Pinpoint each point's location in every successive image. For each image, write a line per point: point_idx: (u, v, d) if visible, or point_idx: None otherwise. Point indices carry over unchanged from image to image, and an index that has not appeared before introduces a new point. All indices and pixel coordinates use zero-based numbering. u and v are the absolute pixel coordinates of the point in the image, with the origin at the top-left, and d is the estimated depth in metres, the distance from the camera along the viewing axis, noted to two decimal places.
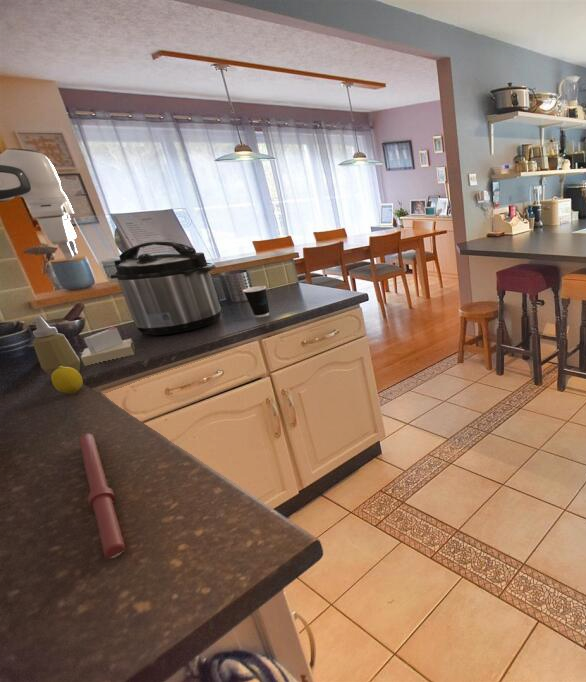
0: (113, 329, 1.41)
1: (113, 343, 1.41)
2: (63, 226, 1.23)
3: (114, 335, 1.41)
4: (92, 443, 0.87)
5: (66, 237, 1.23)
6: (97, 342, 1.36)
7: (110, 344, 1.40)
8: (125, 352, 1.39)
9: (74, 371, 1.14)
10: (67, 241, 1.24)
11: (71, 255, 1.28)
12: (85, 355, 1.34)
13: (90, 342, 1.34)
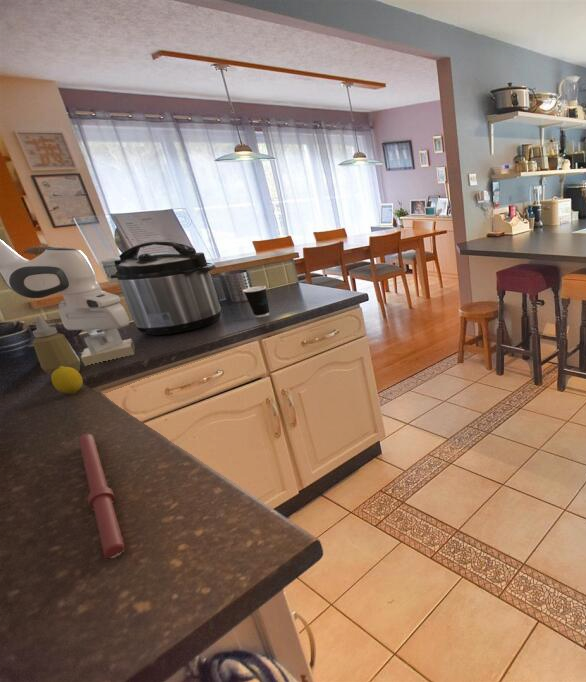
0: (113, 329, 1.41)
1: (113, 343, 1.41)
2: (125, 311, 1.36)
3: (114, 335, 1.41)
4: (92, 444, 0.87)
5: (128, 320, 1.37)
6: (97, 342, 1.36)
7: (110, 344, 1.40)
8: (125, 352, 1.39)
9: (74, 371, 1.14)
10: (128, 324, 1.37)
11: (111, 338, 1.39)
12: (85, 355, 1.34)
13: (90, 342, 1.34)
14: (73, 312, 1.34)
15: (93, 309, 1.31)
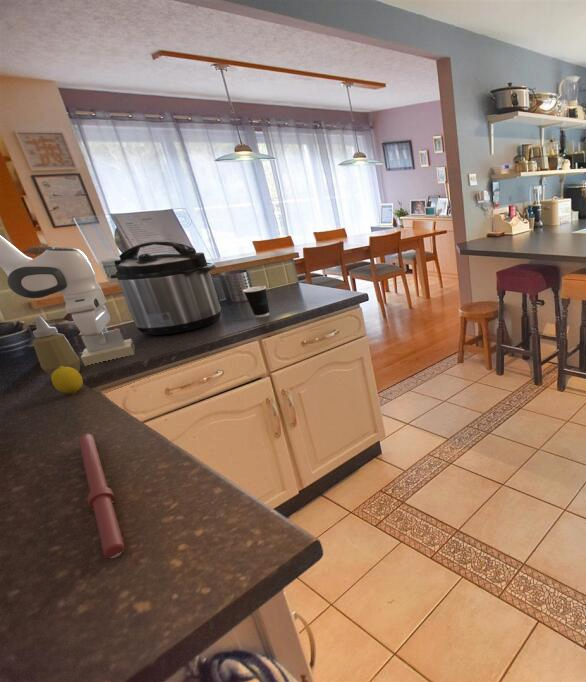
0: (113, 331, 1.39)
1: (111, 345, 1.39)
2: (94, 320, 1.29)
3: (114, 337, 1.39)
4: (91, 444, 0.87)
5: (97, 330, 1.30)
6: (91, 342, 1.36)
7: (107, 345, 1.39)
8: (125, 352, 1.39)
9: (74, 371, 1.14)
10: (98, 333, 1.30)
11: (104, 340, 1.37)
12: (85, 355, 1.34)
13: (83, 341, 1.36)
14: None
15: None
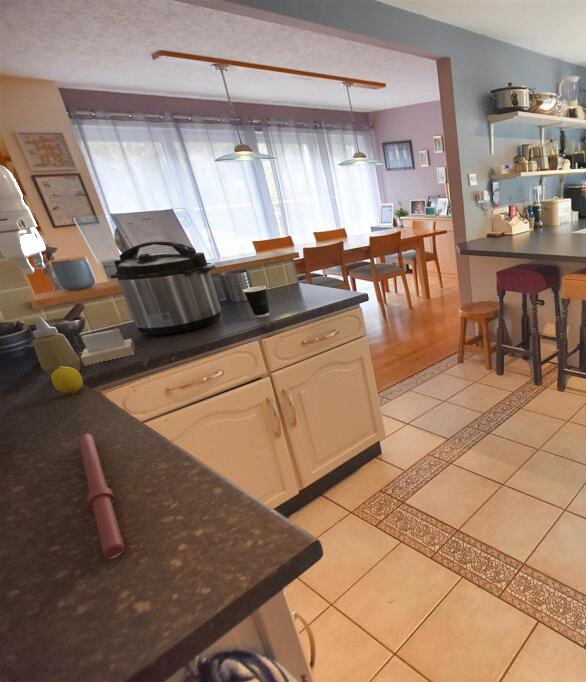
0: (113, 331, 1.39)
1: (111, 345, 1.39)
2: (18, 241, 1.18)
3: (114, 337, 1.39)
4: (91, 444, 0.87)
5: (21, 252, 1.18)
6: (91, 342, 1.36)
7: (107, 345, 1.39)
8: (125, 352, 1.39)
9: (74, 371, 1.14)
10: (23, 257, 1.19)
11: (31, 270, 1.23)
12: (85, 355, 1.34)
13: (83, 341, 1.36)
14: None
15: None
